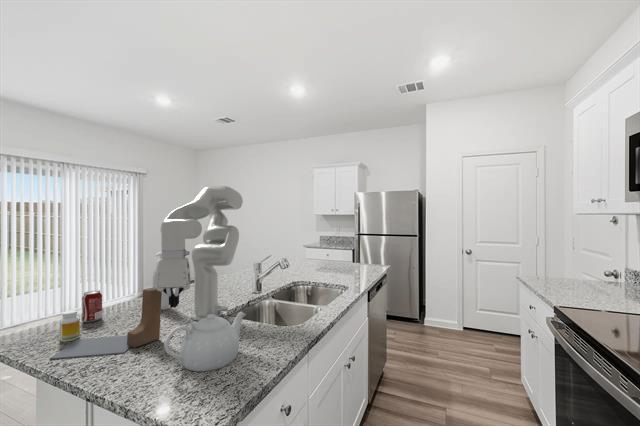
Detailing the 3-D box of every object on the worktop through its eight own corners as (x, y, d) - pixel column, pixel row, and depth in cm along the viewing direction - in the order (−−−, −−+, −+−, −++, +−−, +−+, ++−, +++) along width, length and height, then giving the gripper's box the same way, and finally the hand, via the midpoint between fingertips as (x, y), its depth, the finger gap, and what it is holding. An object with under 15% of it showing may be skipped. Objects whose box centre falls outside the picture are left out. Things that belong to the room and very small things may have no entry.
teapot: (194, 345, 99) (193, 305, 99) (247, 345, 99) (247, 305, 99) (162, 376, 81) (162, 327, 81) (228, 376, 80) (227, 327, 80)
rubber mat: (142, 335, 108) (142, 334, 108) (124, 353, 94) (124, 352, 94) (79, 340, 104) (79, 339, 104) (49, 359, 90) (49, 358, 90)
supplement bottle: (82, 337, 107) (82, 310, 107) (65, 343, 102) (64, 315, 102) (74, 334, 109) (74, 308, 109) (57, 340, 104) (56, 313, 104)
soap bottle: (178, 308, 138) (177, 251, 138) (159, 313, 132) (159, 253, 132) (166, 302, 147) (165, 249, 147) (148, 306, 141) (148, 251, 141)
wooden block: (134, 348, 96) (137, 293, 97) (126, 345, 98) (129, 291, 99) (159, 339, 104) (162, 288, 105) (152, 336, 106) (154, 287, 107)
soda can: (106, 318, 126) (105, 290, 126) (89, 324, 119) (89, 294, 119) (95, 316, 128) (95, 289, 128) (78, 322, 122) (77, 293, 122)
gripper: (198, 252, 108) (198, 302, 108) (154, 254, 105) (155, 304, 105) (193, 255, 101) (193, 308, 101) (146, 257, 98) (146, 311, 98)
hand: (174, 306), depth 103 cm, fingers closed
